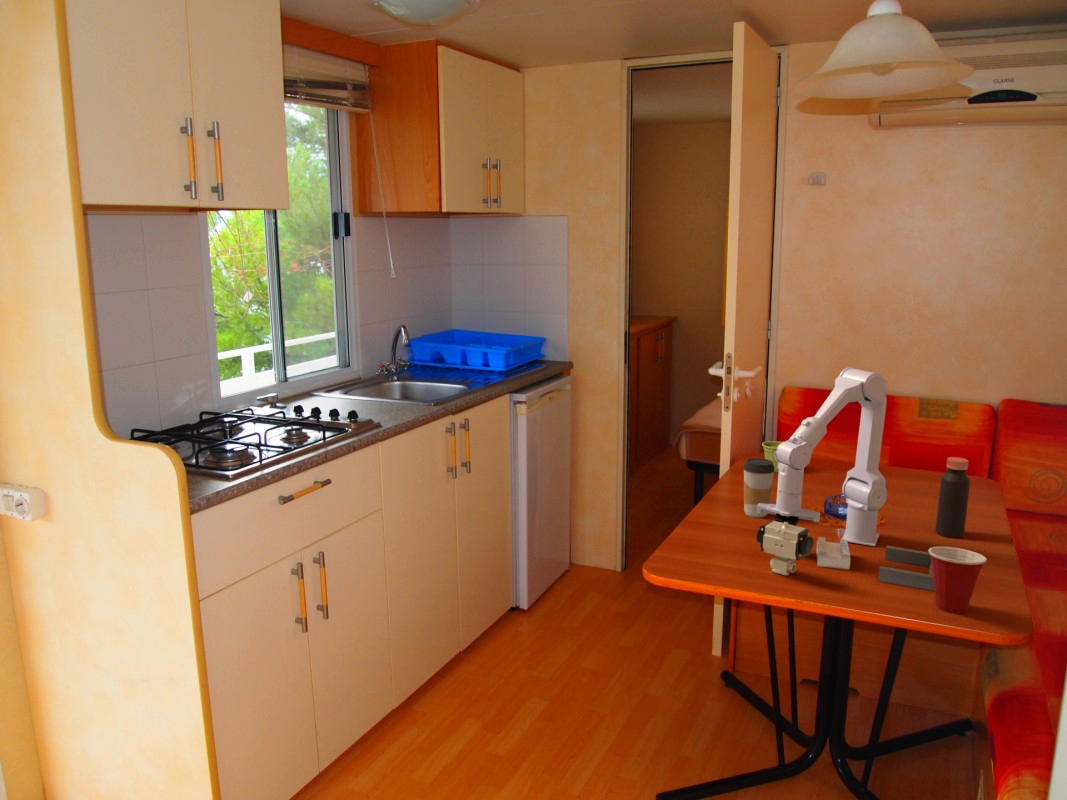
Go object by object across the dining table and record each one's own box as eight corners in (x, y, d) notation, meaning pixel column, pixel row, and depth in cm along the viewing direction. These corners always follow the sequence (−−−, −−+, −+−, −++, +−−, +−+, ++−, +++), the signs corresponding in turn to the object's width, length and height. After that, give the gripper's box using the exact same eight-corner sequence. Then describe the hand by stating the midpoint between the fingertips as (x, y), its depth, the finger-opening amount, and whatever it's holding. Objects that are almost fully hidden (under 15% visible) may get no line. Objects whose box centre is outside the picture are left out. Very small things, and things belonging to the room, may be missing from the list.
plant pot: (769, 475, 273) (771, 448, 272) (755, 467, 282) (756, 441, 281) (795, 473, 276) (797, 447, 274) (780, 465, 285) (782, 440, 283)
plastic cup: (980, 602, 180) (986, 548, 178) (980, 622, 170) (987, 566, 168) (924, 592, 185) (929, 539, 182) (921, 611, 175) (927, 556, 173)
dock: (885, 557, 204) (886, 545, 204) (938, 566, 199) (939, 554, 199) (878, 580, 190) (879, 568, 190) (934, 591, 185) (935, 578, 185)
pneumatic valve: (762, 563, 200) (765, 514, 198) (811, 576, 193) (815, 525, 190) (752, 569, 196) (755, 520, 193) (801, 583, 189) (805, 532, 186)
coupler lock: (816, 552, 208) (817, 536, 207) (846, 555, 206) (848, 540, 205) (817, 567, 199) (818, 551, 198) (849, 571, 197) (850, 554, 196)
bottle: (954, 540, 216) (963, 464, 213) (929, 532, 222) (937, 458, 218) (969, 535, 220) (978, 460, 216) (944, 527, 226) (952, 454, 222)
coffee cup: (775, 519, 231) (779, 465, 228) (744, 518, 231) (748, 465, 228) (766, 509, 239) (770, 457, 236) (737, 509, 239) (740, 457, 236)
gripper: (755, 490, 204) (751, 544, 207) (818, 500, 198) (813, 555, 200) (762, 483, 210) (758, 535, 213) (823, 492, 204) (818, 546, 206)
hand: (785, 544), depth 207 cm, fingers closed
